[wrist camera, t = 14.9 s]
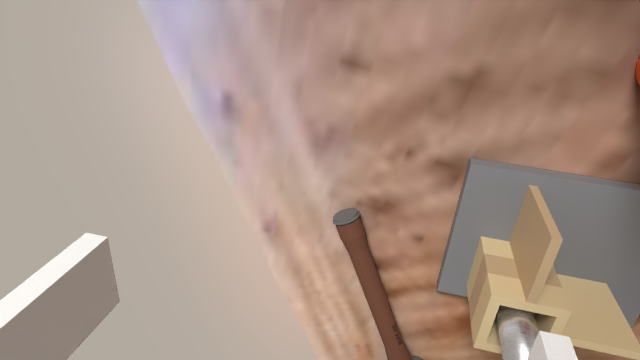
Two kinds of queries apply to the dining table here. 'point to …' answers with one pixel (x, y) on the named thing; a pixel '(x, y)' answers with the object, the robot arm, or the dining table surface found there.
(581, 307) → the stand
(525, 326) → the hinge pin
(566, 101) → the dining table surface
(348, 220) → the mallet
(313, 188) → the dining table surface
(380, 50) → the dining table surface
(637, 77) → the coffee cup
